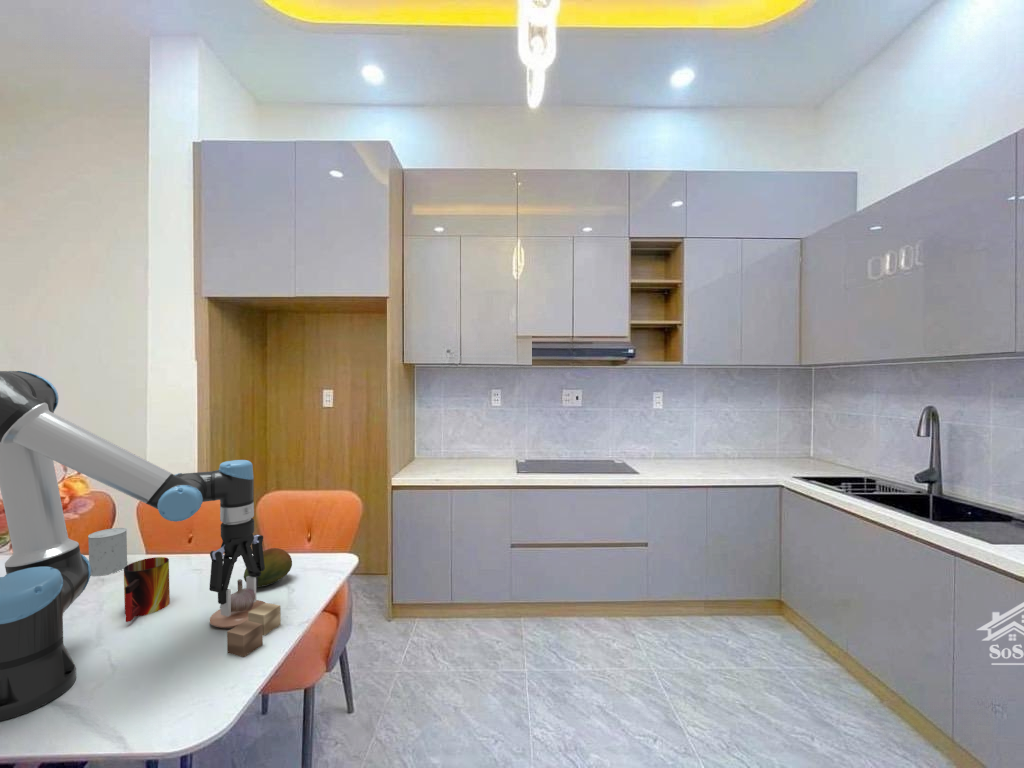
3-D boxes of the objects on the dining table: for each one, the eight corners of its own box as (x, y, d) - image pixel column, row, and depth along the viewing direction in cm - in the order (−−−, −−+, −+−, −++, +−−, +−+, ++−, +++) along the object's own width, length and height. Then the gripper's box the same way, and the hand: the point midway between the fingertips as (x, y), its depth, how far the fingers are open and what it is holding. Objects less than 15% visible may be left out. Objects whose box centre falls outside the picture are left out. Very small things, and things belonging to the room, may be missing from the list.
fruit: (298, 576, 143) (297, 544, 143) (270, 595, 131) (270, 560, 131) (265, 573, 145) (265, 542, 145) (235, 592, 133) (234, 558, 133)
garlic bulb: (257, 611, 118) (256, 580, 118) (223, 620, 114) (222, 588, 114) (253, 599, 124) (253, 570, 124) (222, 608, 120) (221, 577, 120)
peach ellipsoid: (235, 634, 111) (235, 629, 111) (197, 625, 115) (197, 620, 115) (278, 608, 123) (278, 604, 123) (243, 601, 127) (243, 597, 127)
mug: (125, 627, 115) (124, 580, 114) (123, 607, 125) (122, 563, 125) (173, 613, 121) (172, 569, 121) (167, 595, 131) (166, 554, 131)
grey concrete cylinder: (88, 569, 150) (87, 532, 150) (126, 561, 156) (126, 525, 156) (88, 579, 143) (87, 540, 143) (128, 570, 149) (127, 532, 149)
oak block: (264, 635, 110) (263, 615, 110) (248, 632, 112) (248, 612, 112) (280, 625, 115) (280, 605, 115) (265, 621, 117) (265, 602, 117)
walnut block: (243, 657, 102) (243, 635, 102) (227, 653, 103) (227, 631, 103) (262, 645, 107) (262, 624, 106) (246, 641, 108) (246, 620, 108)
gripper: (211, 534, 108) (213, 630, 109) (279, 511, 127) (280, 593, 127) (189, 530, 111) (191, 624, 111) (259, 508, 129) (260, 589, 130)
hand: (239, 607), depth 119 cm, fingers closed on garlic bulb, 7 cm apart
